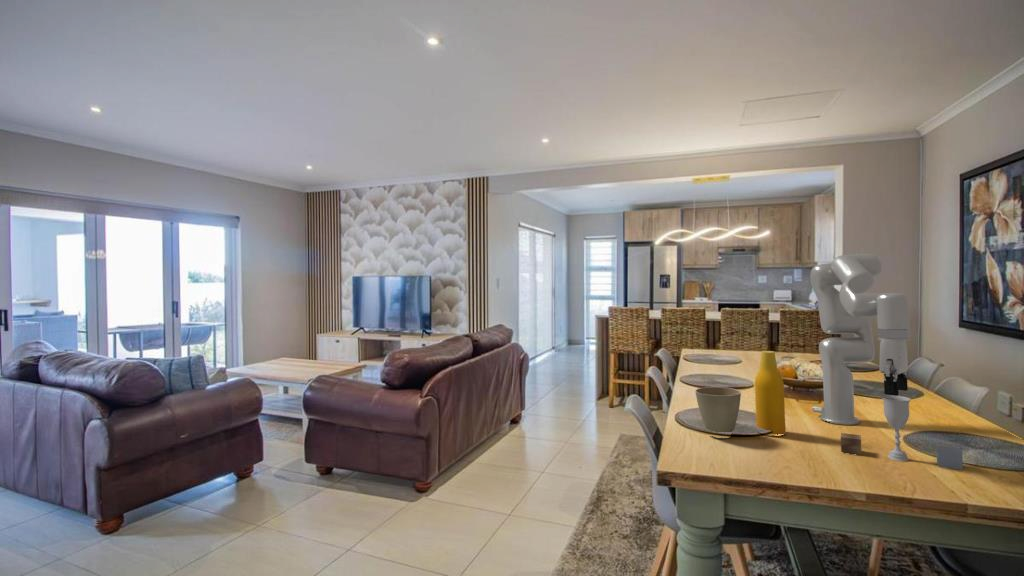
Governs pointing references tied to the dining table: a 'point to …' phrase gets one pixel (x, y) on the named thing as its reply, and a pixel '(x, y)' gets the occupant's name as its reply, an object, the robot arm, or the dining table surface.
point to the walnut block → (851, 443)
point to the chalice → (896, 421)
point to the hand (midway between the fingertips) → (896, 392)
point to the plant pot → (718, 407)
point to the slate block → (949, 457)
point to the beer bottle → (769, 395)
